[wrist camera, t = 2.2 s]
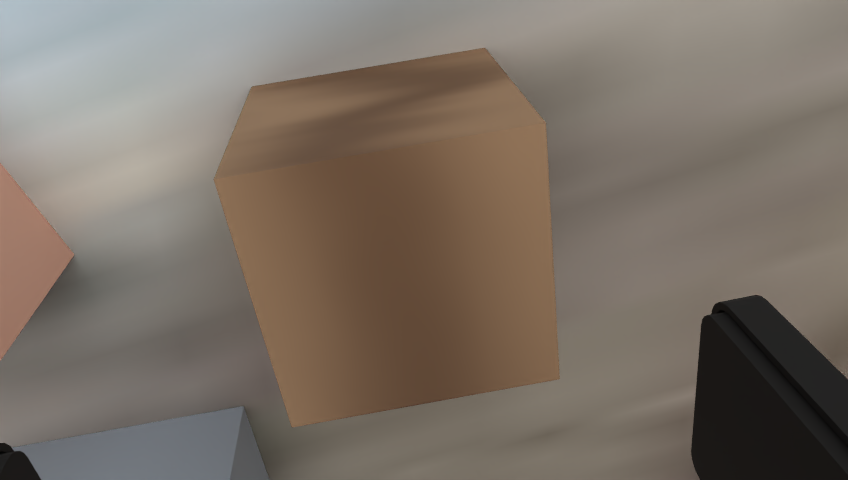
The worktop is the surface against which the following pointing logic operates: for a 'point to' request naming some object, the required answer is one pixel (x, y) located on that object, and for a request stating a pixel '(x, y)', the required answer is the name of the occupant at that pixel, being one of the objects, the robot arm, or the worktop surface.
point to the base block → (156, 451)
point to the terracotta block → (24, 259)
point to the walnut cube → (395, 234)
